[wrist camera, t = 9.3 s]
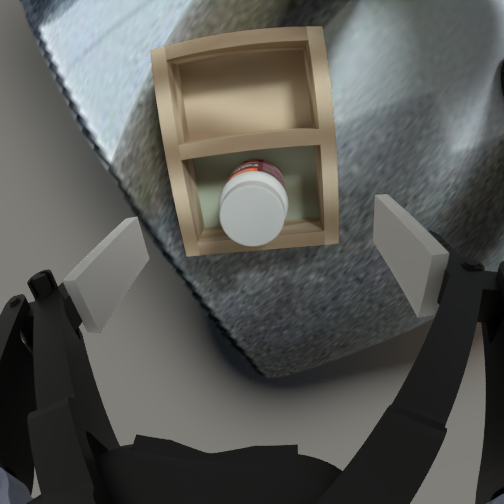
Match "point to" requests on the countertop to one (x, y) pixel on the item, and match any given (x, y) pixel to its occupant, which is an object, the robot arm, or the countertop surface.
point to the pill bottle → (253, 203)
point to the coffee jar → (502, 78)
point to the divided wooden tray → (249, 130)
